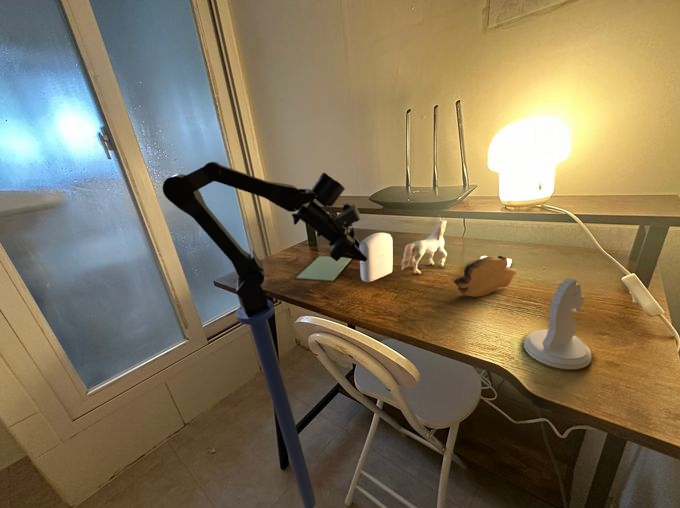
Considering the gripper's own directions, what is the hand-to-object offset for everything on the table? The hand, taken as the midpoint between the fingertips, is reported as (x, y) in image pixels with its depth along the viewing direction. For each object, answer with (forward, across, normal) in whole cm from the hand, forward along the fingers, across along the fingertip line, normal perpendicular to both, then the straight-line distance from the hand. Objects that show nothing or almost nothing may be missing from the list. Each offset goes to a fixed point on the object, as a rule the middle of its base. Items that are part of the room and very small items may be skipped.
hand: (366, 256), depth 82 cm
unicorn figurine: (+19, +12, -6) cm, 24 cm away
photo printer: (+7, +2, +3) cm, 8 cm away
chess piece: (+30, -30, -16) cm, 45 cm away
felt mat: (-3, +17, +17) cm, 24 cm away
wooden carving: (+27, -8, -13) cm, 31 cm away
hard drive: (+31, +4, -18) cm, 36 cm away
